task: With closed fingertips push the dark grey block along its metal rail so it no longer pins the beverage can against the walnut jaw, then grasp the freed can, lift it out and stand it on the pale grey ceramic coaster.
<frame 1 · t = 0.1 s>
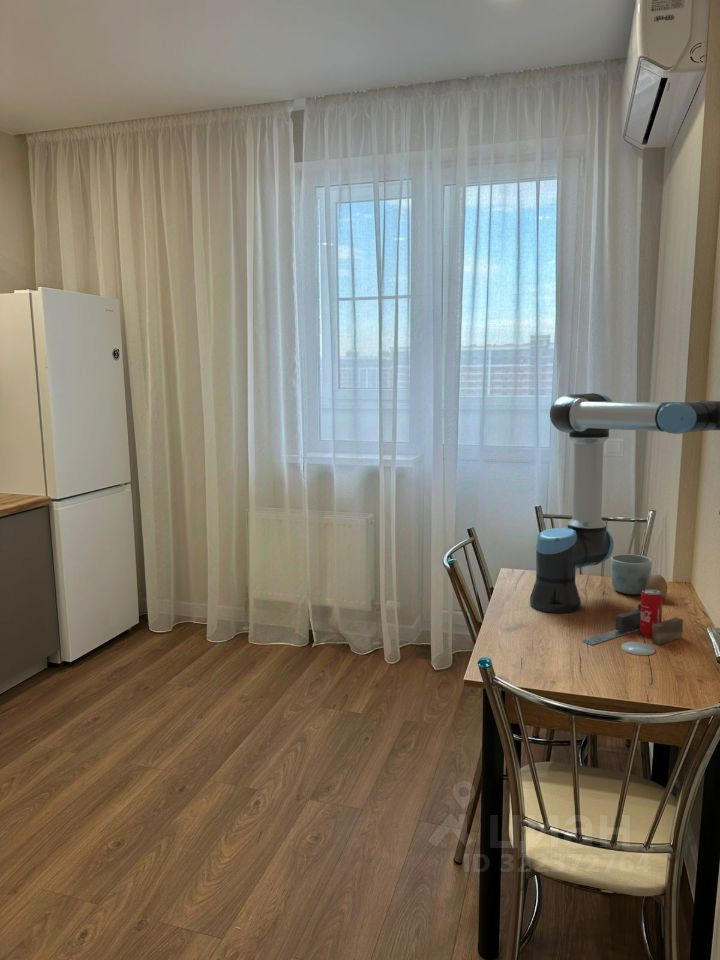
coaster: (638, 649, 170), on the table
rail: (617, 633, 181), on the table
planter: (630, 591, 218), on the table
walnut jaw: (667, 640, 176), on the table
dark grey block: (633, 617, 184), point 3 cm above the table, slide at 0.0 cm
egg: (655, 600, 209), on the table
beverage can: (650, 635, 180), on the table
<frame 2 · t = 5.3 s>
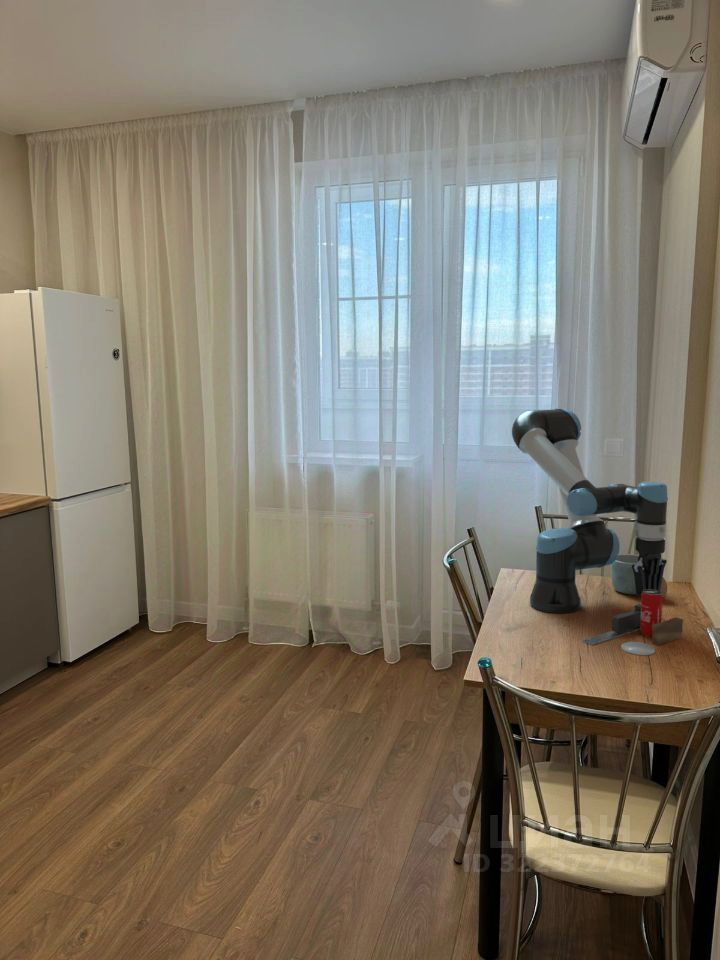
hand: (647, 619, 188), 1 cm above the table, fingers closed
dark grey block: (629, 618, 183), point 3 cm above the table, slide at 1.6 cm, touching gripper
everything else where it was.
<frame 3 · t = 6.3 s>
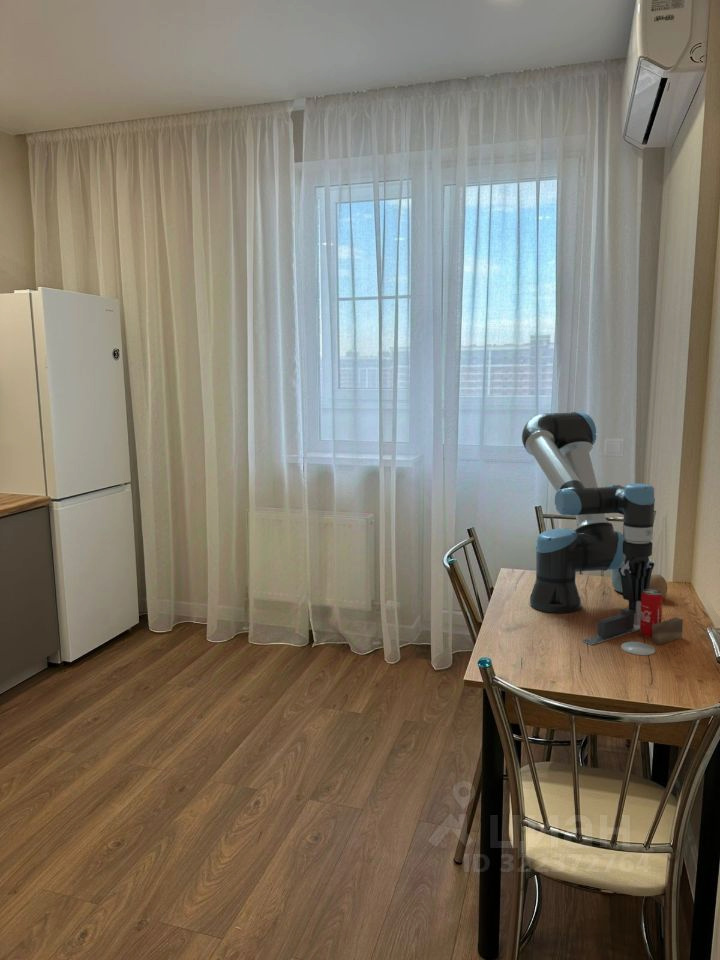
hand: (634, 623, 185), 1 cm above the table, fingers closed
dark grey block: (615, 622, 180), point 3 cm above the table, slide at 7.4 cm, touching gripper
everything else where it was.
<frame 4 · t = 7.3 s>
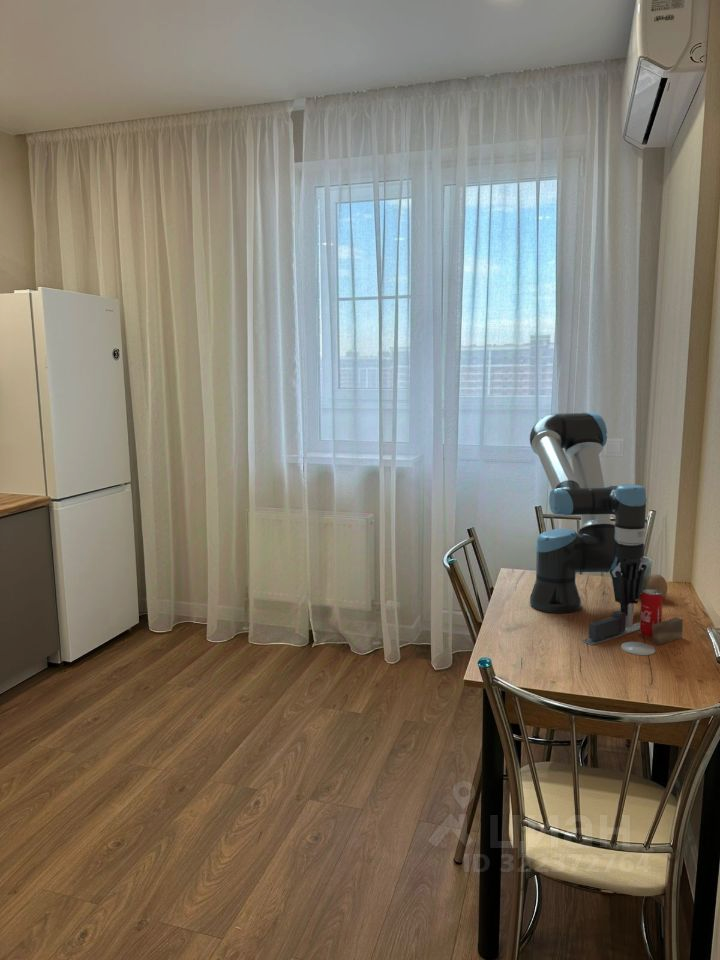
hand: (626, 625, 183), 1 cm above the table, fingers closed
dark grey block: (607, 625, 179), point 3 cm above the table, slide at 11.0 cm, touching gripper
everything else where it was.
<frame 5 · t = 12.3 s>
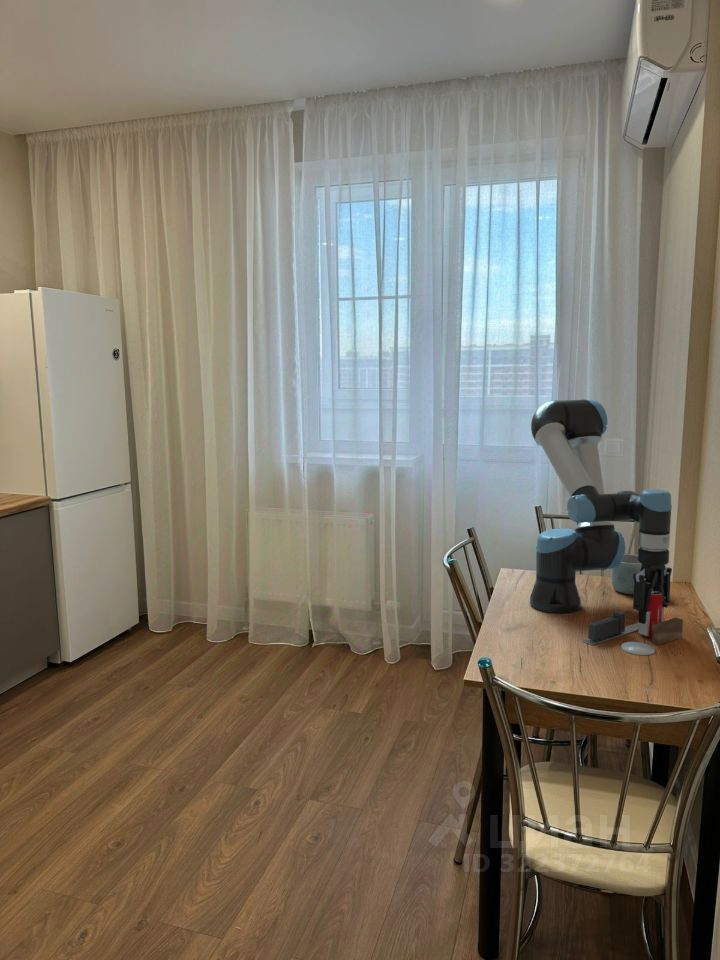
hand: (650, 631, 180), 1 cm above the table, fingers closed on beverage can, 5 cm apart
dark grey block: (606, 625, 178), point 3 cm above the table, slide at 11.2 cm
beverage can: (650, 635, 180), on the table, touching gripper
everything else where it was.
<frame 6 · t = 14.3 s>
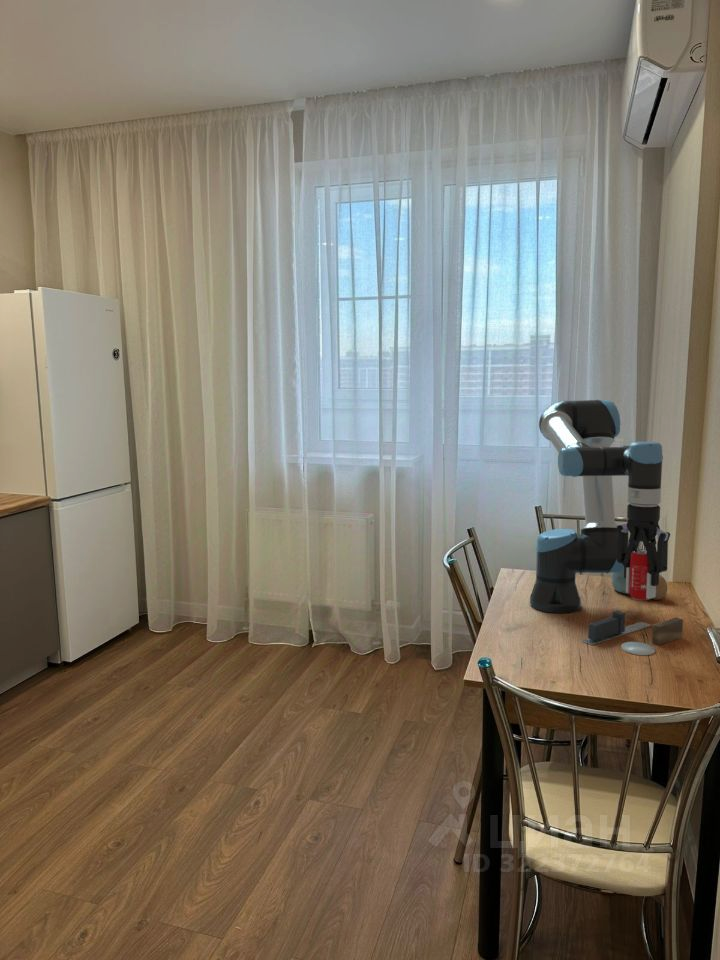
hand: (640, 594, 168), 14 cm above the table, fingers closed on beverage can, 5 cm apart
beverage can: (640, 598, 168), point 14 cm above the table, touching gripper
everything else where it was.
when the fingers open (2 cm above the table, at t = 16.8 s): beverage can stays where it is, resting on coaster.
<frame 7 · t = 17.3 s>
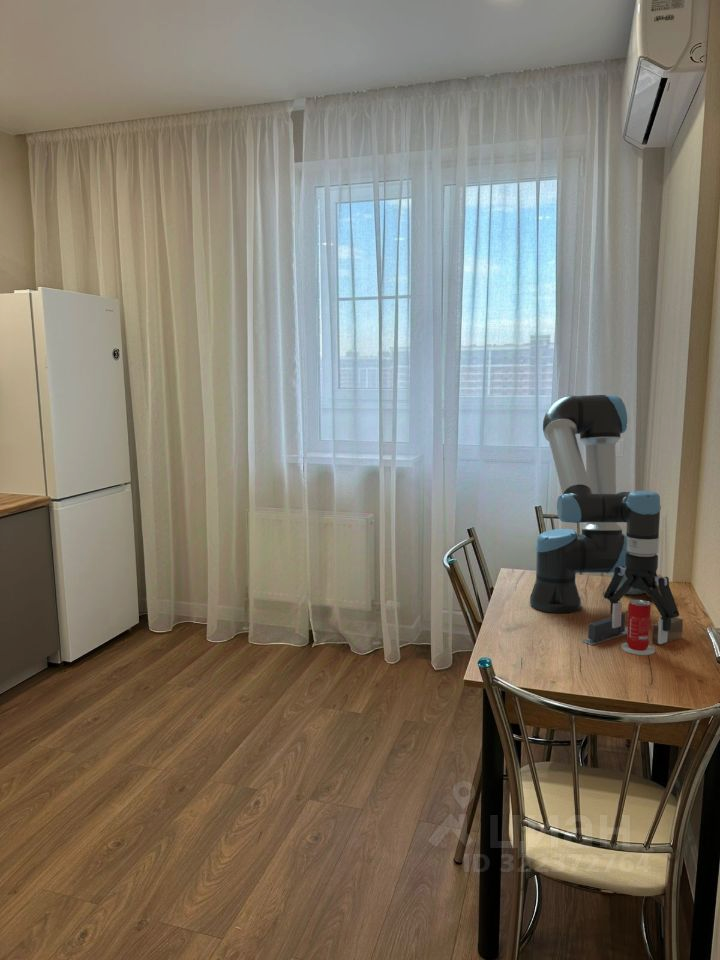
hand: (638, 634, 170), 4 cm above the table, fingers open, 13 cm apart
beverage can: (637, 648, 170), resting on coaster
everything else where it was.
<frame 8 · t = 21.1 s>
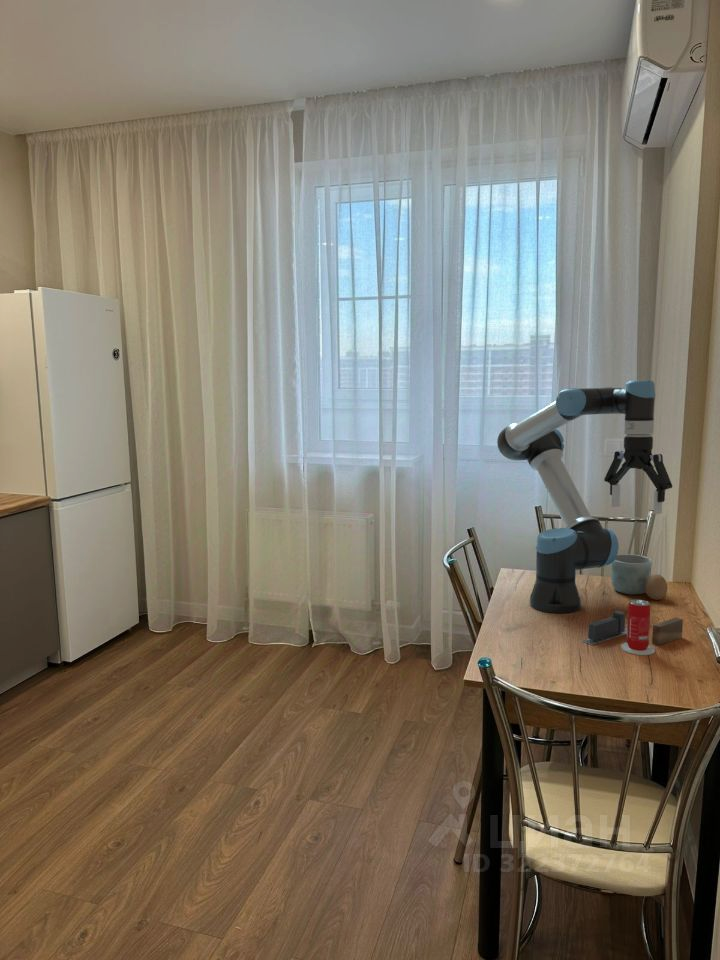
hand: (635, 510, 190), 32 cm above the table, fingers open, 13 cm apart
nothing on the table moved.
at the end: dark grey block slide at 11.2 cm; beverage can 0.2 cm from the coaster (horizontally); beverage can tilted 0° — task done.
